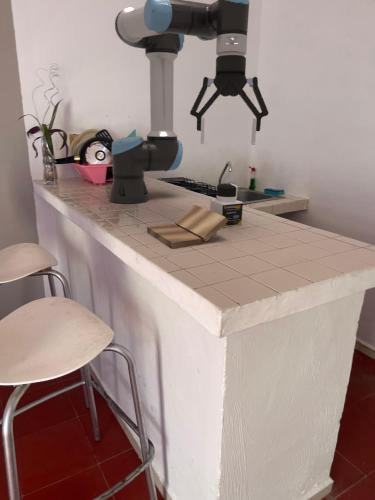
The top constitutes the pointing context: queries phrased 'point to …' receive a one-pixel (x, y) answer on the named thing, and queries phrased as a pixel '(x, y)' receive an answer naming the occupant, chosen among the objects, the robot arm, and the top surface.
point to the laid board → (174, 236)
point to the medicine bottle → (228, 204)
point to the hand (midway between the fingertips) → (227, 144)
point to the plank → (201, 222)
